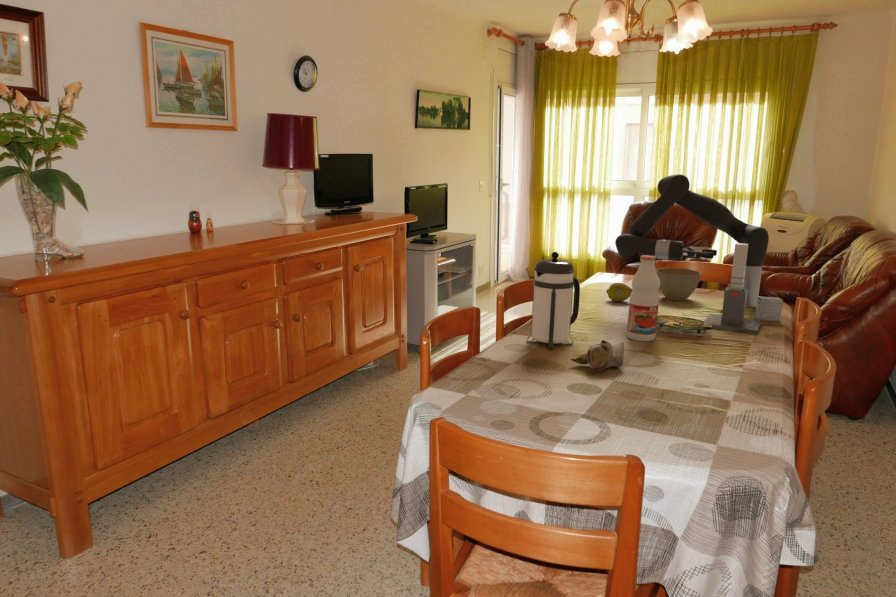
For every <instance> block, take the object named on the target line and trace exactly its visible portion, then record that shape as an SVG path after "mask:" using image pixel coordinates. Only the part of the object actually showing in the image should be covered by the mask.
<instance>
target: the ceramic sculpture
mask: <svg viewBox="0 0 896 597" xmlns="http://www.w3.org/2000/svg"><path fill="white" fill-rule="evenodd" d="M587 349H588V350H587V351H586V352H585V353H583V354H581V355H579V356H577V357H576V358H570V361H571V362H574V363H576V364H579V365H589V366H590V367H589V368H588V370H589V371H592V372H595V373H596V372H601V371H603V370H604V369H605V370H606V369H608V368H610V367H611V368H612V367H614V368H618V369H619V368H621V367H622V366H623V365H624V360H625V359H624V358H625V357H624V354H625V343H624V341H621V342H619V343H614V344H613V345H612V343H611V342H609V341H607V340H605V339H604V340H601V341H600V343H598V344H596V343H595V344H592V345H590V347H589V348H587Z"/></svg>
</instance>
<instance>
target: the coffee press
mask: <svg viewBox="0 0 896 597" xmlns="http://www.w3.org/2000/svg"><path fill="white" fill-rule="evenodd" d="M559 256H560V255H559V253H558V252H557V251H553V252H552V253H551V258H544V259H541V260H539V261H537V262H536V264H535V265H534V266H533V271H534V278H533V288H532V290H533V292H532V296H533V299H532V308H531V309H532V310H531V311H532V312H531V315H532V318H531V328H530V333H529V335H528V337H526V343H529V344H530V343H533V341H534V340H535V341H538V342H540V343H544V344H547V347H548V350H554V349H553V348H554V344H562V343H564V342H566V343H567V344H568V345H570V346H572V345H574V341H573V339H572V337H571V325H573V324H574V323H575V322H576V320H577V318H578V315H579V310H580V296H581V295H580V294H581V286H580V285H581V284H580V282H579V280H578V279H577V278H575V277H574V274H575V271H576V270H575V267H574V265H573V264H572V262H570V261H568V260H565V259H560V258H559ZM531 337H532V339H531V340H529V339H530V338H531ZM569 338H570V340H571V343H570V342H569V341H568V340H569Z"/></svg>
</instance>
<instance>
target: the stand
mask: <svg viewBox="0 0 896 597" xmlns="http://www.w3.org/2000/svg"><path fill="white" fill-rule="evenodd" d="M729 288H730V286H727V287H726V288H725V289H724V293H723V301H722V302H723V303H722V309H721V310H722V311H721V314H718V313H709V314H708V315H707V317H706V318H705V319H704V321H703V322H704V323H707V324H710V325H712V328H711V329H714V330H719V331H727V332H735V333H743V334H749V335H758V332H759V330H760V327H761V324H762V321H761V320H758V319H756V318H749V317H745V315H746V314H745V313H746V308H747V307H746V299H747V291H748V289H743V292H742V291H733V290H729Z"/></svg>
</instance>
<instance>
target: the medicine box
mask: <svg viewBox="0 0 896 597" xmlns="http://www.w3.org/2000/svg"><path fill="white" fill-rule="evenodd" d="M783 303H784V300H783V299H782V298H780V297H778V296H777V297H776V296H758V298H757V305H756V307H755V313H754V314H755V315H754V319H758V320H761V322H780V321H781V317H782V309H783Z"/></svg>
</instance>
